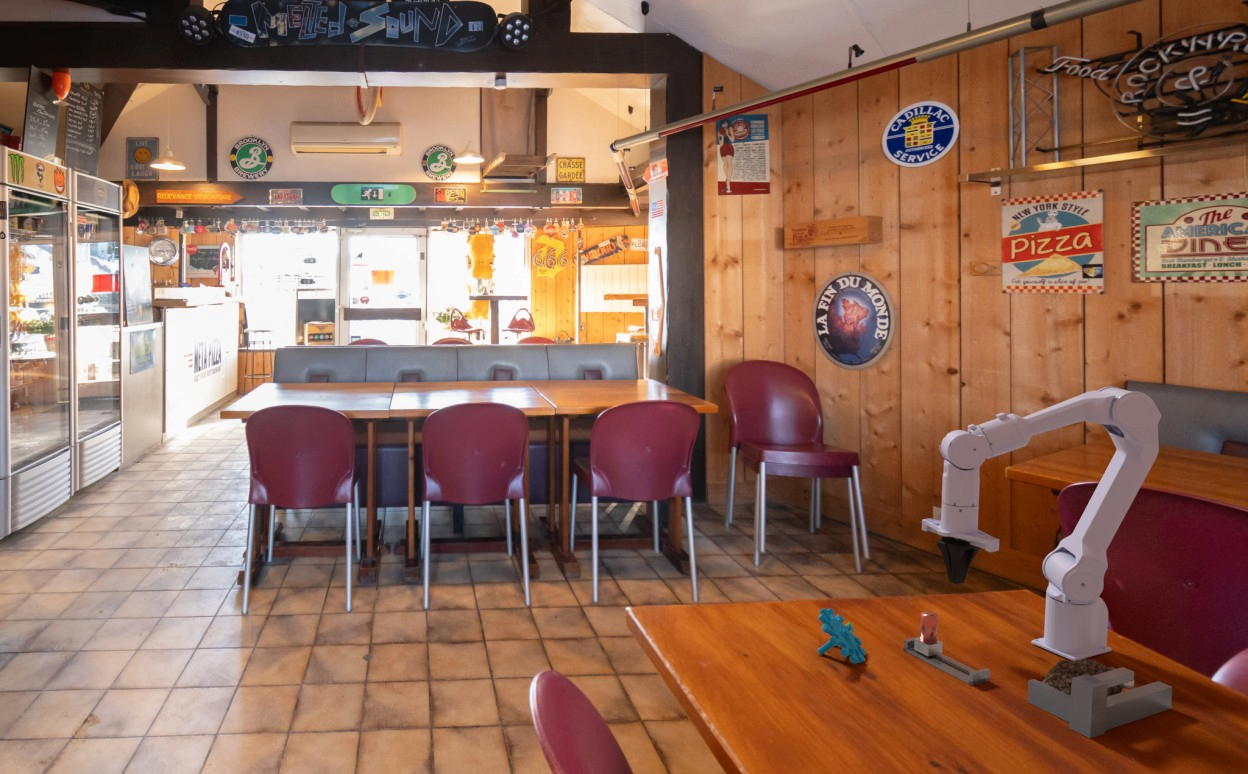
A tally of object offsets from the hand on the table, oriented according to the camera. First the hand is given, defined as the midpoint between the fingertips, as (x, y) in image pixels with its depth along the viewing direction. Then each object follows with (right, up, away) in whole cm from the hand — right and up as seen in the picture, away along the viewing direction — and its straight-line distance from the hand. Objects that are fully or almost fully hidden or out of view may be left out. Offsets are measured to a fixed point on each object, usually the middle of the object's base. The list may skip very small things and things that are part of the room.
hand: (956, 582), depth 138 cm
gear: (-21, -11, -5) cm, 24 cm away
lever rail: (-5, -11, -8) cm, 15 cm away
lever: (-7, -11, -5) cm, 14 cm away
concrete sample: (+10, -13, -20) cm, 25 cm away
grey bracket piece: (+11, -13, -22) cm, 27 cm away
